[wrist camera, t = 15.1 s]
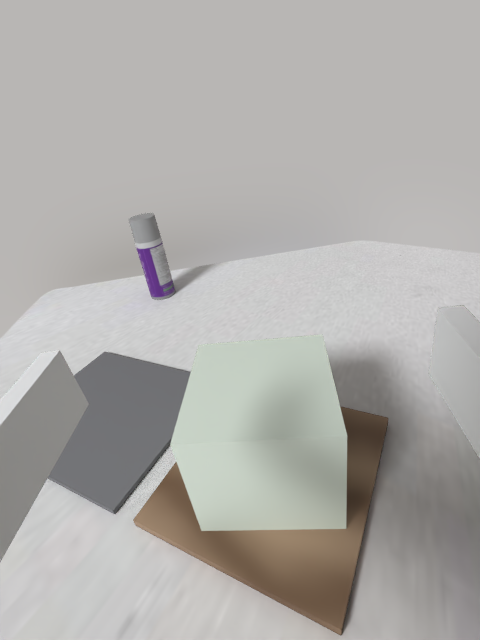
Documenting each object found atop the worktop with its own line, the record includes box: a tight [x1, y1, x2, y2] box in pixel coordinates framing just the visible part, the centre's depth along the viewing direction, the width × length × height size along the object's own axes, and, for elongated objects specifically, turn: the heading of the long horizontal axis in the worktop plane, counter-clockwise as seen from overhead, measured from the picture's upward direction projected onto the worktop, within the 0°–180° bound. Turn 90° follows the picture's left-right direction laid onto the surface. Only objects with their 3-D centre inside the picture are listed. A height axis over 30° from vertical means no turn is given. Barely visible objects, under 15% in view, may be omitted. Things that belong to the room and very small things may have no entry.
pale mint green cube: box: [170, 334, 347, 531], centre depth 29 cm, size 11×11×10 cm
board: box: [133, 406, 388, 635], centre depth 32 cm, size 18×17×1 cm
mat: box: [48, 352, 191, 514], centre depth 42 cm, size 18×20×1 cm
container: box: [129, 213, 175, 300], centre depth 65 cm, size 5×5×15 cm
